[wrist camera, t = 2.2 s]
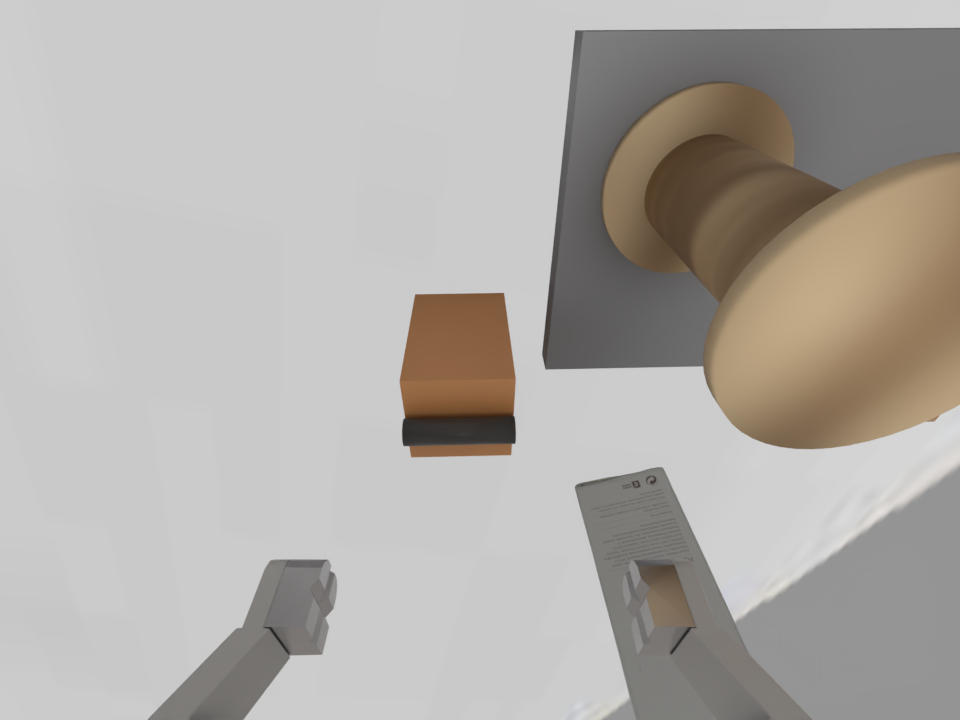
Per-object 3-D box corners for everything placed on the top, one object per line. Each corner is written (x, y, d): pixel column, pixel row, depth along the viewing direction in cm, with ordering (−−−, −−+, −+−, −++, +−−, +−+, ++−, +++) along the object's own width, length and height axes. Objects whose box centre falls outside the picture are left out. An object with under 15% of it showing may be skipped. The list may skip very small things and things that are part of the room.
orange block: (422, 363, 22) (408, 478, 17) (415, 294, 20) (395, 401, 14) (501, 362, 22) (513, 475, 17) (504, 292, 20) (518, 398, 15)
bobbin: (588, 267, 18) (678, 452, 10) (618, 82, 14) (797, 163, 6) (745, 265, 18) (945, 446, 11) (818, 80, 14) (1222, 158, 7)
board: (542, 354, 22) (545, 369, 21) (575, 30, 14) (583, 31, 13) (857, 348, 22) (874, 363, 22) (1064, 27, 14) (1106, 28, 14)
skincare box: (572, 481, 29) (646, 805, 17) (667, 460, 28) (816, 790, 16) (594, 545, 34) (662, 830, 22) (675, 530, 33) (793, 820, 21)
